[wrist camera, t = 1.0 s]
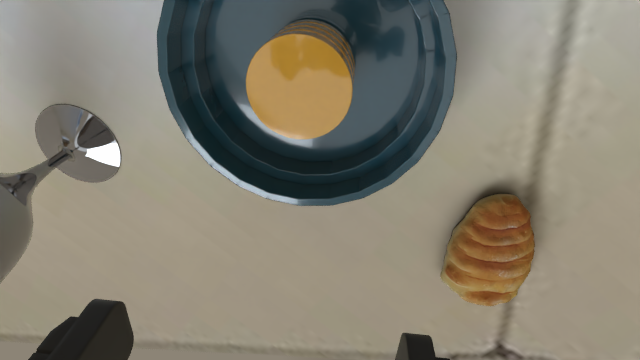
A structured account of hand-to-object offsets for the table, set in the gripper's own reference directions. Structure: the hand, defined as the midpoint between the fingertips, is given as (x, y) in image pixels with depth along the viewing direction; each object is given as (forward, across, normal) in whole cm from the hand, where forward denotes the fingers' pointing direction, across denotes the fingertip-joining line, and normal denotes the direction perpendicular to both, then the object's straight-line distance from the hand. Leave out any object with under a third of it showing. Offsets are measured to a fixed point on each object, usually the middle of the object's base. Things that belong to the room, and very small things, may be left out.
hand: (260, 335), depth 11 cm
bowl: (+19, 0, -3) cm, 20 cm away
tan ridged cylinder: (+19, 0, -3) cm, 19 cm away
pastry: (+19, -15, +10) cm, 26 cm away
